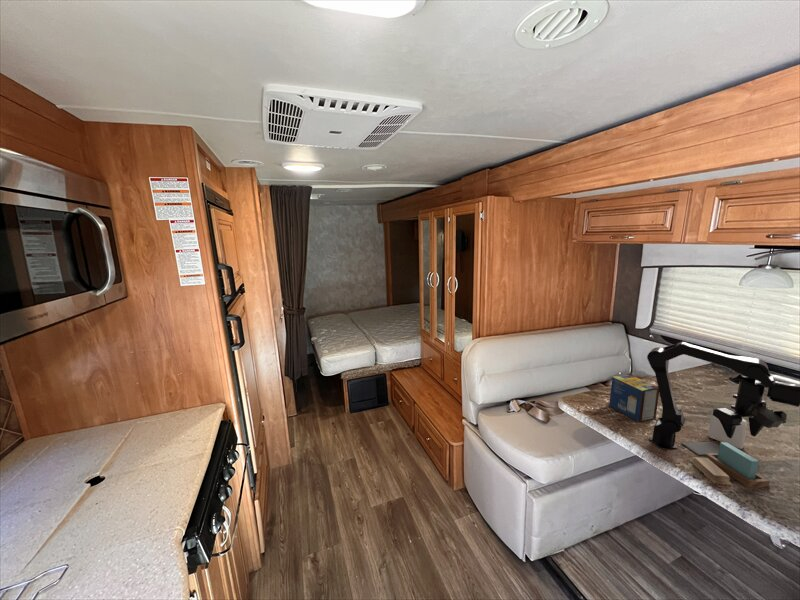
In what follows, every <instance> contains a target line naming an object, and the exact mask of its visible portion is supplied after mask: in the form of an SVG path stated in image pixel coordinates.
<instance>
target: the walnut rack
mask: <svg viewBox="0 0 800 600" xmlns="http://www.w3.org/2000/svg"><path fill="white" fill-rule="evenodd" d="M704 458H708V459H709V460H711V461H712V462H713V463H714V464H715V465H716V466H718V467H719V468H720V469H721V470H722V471H723V472H725V473H726V474H727V475H728V476H729V477H732V478H733V479H735V480H737V481H738V482H739V483H741V484H742V485H744V486H745V487H747V488H758V487H759V488H760V487H761V488H764V487H766V488H767V487H769V486H770V483H771V482H770V480H769V479H767V478H766V477H764V476H762V475H761V474H759V473H757V472H756V477H755V479H751V480H749V479H747V478H746V477H744V476H743V475H741V474H740V473H738V472H737V471H735V470H734V469H732V468H730V467H729V466H727V465H726V464H724V463H723V462H721V461H720V460H718V459H717V458H718V453H706V454H705V455H704Z"/></svg>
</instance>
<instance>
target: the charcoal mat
mask: <svg viewBox="0 0 800 600" xmlns="http://www.w3.org/2000/svg"><path fill="white" fill-rule="evenodd" d="M681 445H683V447H685V448H687V449H688V450H690V451H691V452H692V453H694V454H696V455H697V456H698V457H700V456H701V457H702V456H705V454H706V453H718V452H719V447H720V444H718V443H716V442H715V441H697V442H681Z"/></svg>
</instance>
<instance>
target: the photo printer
mask: <svg viewBox="0 0 800 600" xmlns="http://www.w3.org/2000/svg"><path fill="white" fill-rule="evenodd" d="M712 414H713V412H712V413H710V418H709V426H708V431H707V436H708V438H711V439H713V440H716V441H718V442H719V443H721V442H727V443H729V444H730V445H732V446H734V447H736V448H737V449H739V450H742V449H743V448H744V445H745V440H746V433H747V429H748V422H747V420H746V419H745V418H742V422H741V423H740V424H742V425H739V426H736V428H735V431H734V434H733V436H732V438H729V437H727V435H726V433H725V431H724V428H723V426H722V424H721V422H720V421H719V419H718V418H716V417H715V416H713V415H712Z"/></svg>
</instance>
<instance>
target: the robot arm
mask: <svg viewBox="0 0 800 600" xmlns="http://www.w3.org/2000/svg"><path fill="white" fill-rule="evenodd" d="M684 355H685V356H687V357H691V358H696V359H699V360H702V361H705V362H709V363H712V364H715V365H718V366H722V367H725V368H728V369H730V370H732V371H734V372H736V373H737V374H733V375H732V377H731V379H732V381H736V382H739V383H738V387H737V393H736V394H732V398H734V399H735V404H732V405H730V409H728V408H727V407H721V408H714V409H713V410H712V413H713V414H712V413H711V414H712V415H713V416H715V417H716V418H718V419H719V421H720V422H721V424H722V426H723V428H724V431H725V433H726V435H727V437H729V438H732V436H733V434H734V431H735V428H736V426H739V425H742V424H740V423H741V422H742V419H748V425H749V433H750V435H751V436H752V437H757V435H758V434H759V433H760V431H762V430H763V428H764V427H765V428H767V429H771V428H779V427H780V426H781V425H782V424H787V415H788V414H787V413H786V412H785V411H784V410H773V409H771V408H769V407H767V401H765V400H763V399H764V398H763V397H764V393H765V388H766V395H765V396H766V397H767V398H769V400H770V402H773V403H779V404H783V405H787V406H792V407H796V408H799V407H800V384H794V383H787V382H781V381H777V380H775V377H774V376H773V375H771V373H770V372H769V367H768V364H767V363H766V362H765V360H762V359H760V358H755V357H748V356H744V355H743V356H741V355H733V354H727V353H723V352H721V351H720V352H719V351H717V350H712V349H709V348H705V347H702V346H698V345H694V344H692V343H688V342H687V341H680V342H678V343H675V344H671V345H667V346H665V347H654V348H652V349H651V350H650V351H649V352H648V353H647V356H646V359H647V361H648V363H649V366H650V368H651V369H652V371H653V372H654V374H655V379H656V384H657V386H658V388H659V396H660V397H659V398H660V402H661V406H662V412H661V417H658V418H657V420H656V422H655V424H654V427H653V432H652V437H648V440H649V441H650V442H652V443H654V444H655V445H656V446H657V447H658V448H660V450H661V449H662V450H665V449H666V450H668V449H670V450H671V449H673V450H674V449H678V446H677V445H675V444H676V443H675V442H676V438H677V437H676V433H678V432H681V430H682V428H683V427H684V426H685V422H686V418H685V416H684V409H679V408H678V407H677V405H676V402H675V401H676V400H675V396H674V391H673V387H672V383H671V378H670V373H669V366H670V365H669V363H670V360H673V359H674V358H678V357H679V356H684ZM731 409H732V410H734V411H732V410H731Z"/></svg>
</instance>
